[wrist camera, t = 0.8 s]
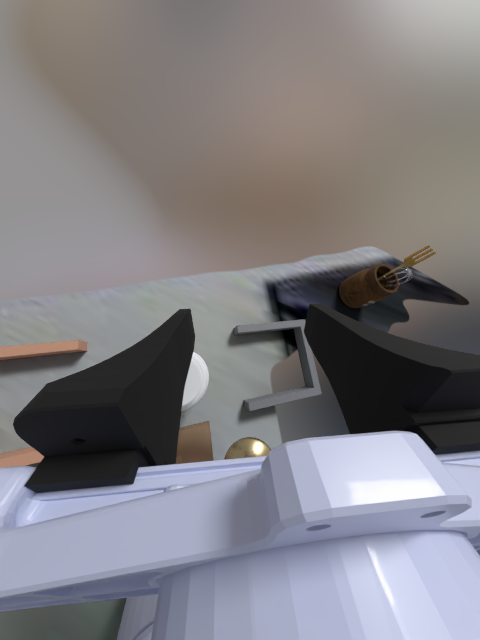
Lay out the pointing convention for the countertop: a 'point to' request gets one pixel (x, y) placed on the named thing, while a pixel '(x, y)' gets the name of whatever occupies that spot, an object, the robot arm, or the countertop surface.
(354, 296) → the utensil holder
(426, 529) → the robot arm
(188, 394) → the supplement bottle
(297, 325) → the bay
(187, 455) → the stand
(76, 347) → the frame
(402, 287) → the countertop surface
